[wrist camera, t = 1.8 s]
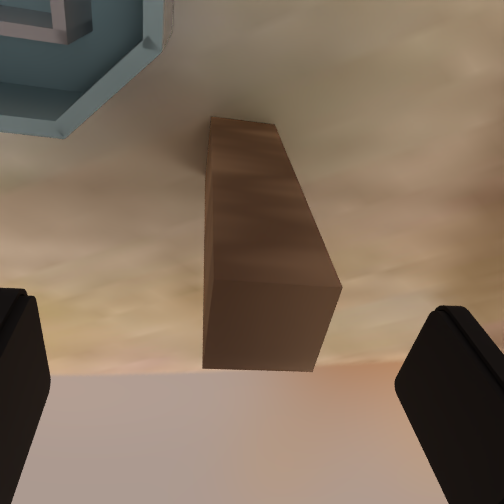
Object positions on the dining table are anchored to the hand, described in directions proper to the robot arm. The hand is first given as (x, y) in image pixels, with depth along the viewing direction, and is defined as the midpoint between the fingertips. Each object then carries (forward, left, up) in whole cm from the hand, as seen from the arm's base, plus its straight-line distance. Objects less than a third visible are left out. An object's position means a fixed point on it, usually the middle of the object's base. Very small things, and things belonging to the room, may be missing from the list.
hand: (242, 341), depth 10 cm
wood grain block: (-1, 0, -12) cm, 12 cm away
